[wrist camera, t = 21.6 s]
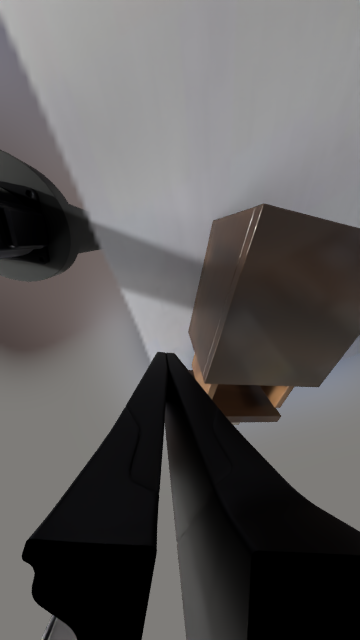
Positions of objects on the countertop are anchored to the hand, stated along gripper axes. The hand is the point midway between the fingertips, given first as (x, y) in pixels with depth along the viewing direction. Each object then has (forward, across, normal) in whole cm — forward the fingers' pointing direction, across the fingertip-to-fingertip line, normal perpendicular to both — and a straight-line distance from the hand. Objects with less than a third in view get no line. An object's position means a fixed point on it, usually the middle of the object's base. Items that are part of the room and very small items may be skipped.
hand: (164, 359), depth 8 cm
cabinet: (+13, -11, -1) cm, 17 cm away
